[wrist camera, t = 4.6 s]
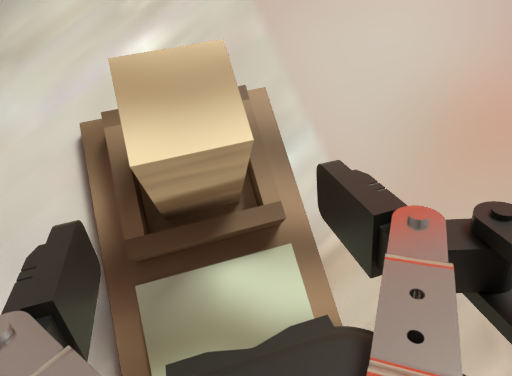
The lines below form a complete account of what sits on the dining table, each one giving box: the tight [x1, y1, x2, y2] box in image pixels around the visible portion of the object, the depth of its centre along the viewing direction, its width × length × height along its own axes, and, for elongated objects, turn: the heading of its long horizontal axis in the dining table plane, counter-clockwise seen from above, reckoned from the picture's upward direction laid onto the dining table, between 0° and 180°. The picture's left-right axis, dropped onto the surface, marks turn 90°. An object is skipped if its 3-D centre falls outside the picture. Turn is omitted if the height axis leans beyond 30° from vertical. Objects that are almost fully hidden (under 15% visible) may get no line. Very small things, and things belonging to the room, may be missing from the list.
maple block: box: [108, 39, 254, 220], centre depth 18 cm, size 4×4×9 cm
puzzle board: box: [80, 85, 342, 376], centre depth 20 cm, size 20×12×3 cm, turn 16°
